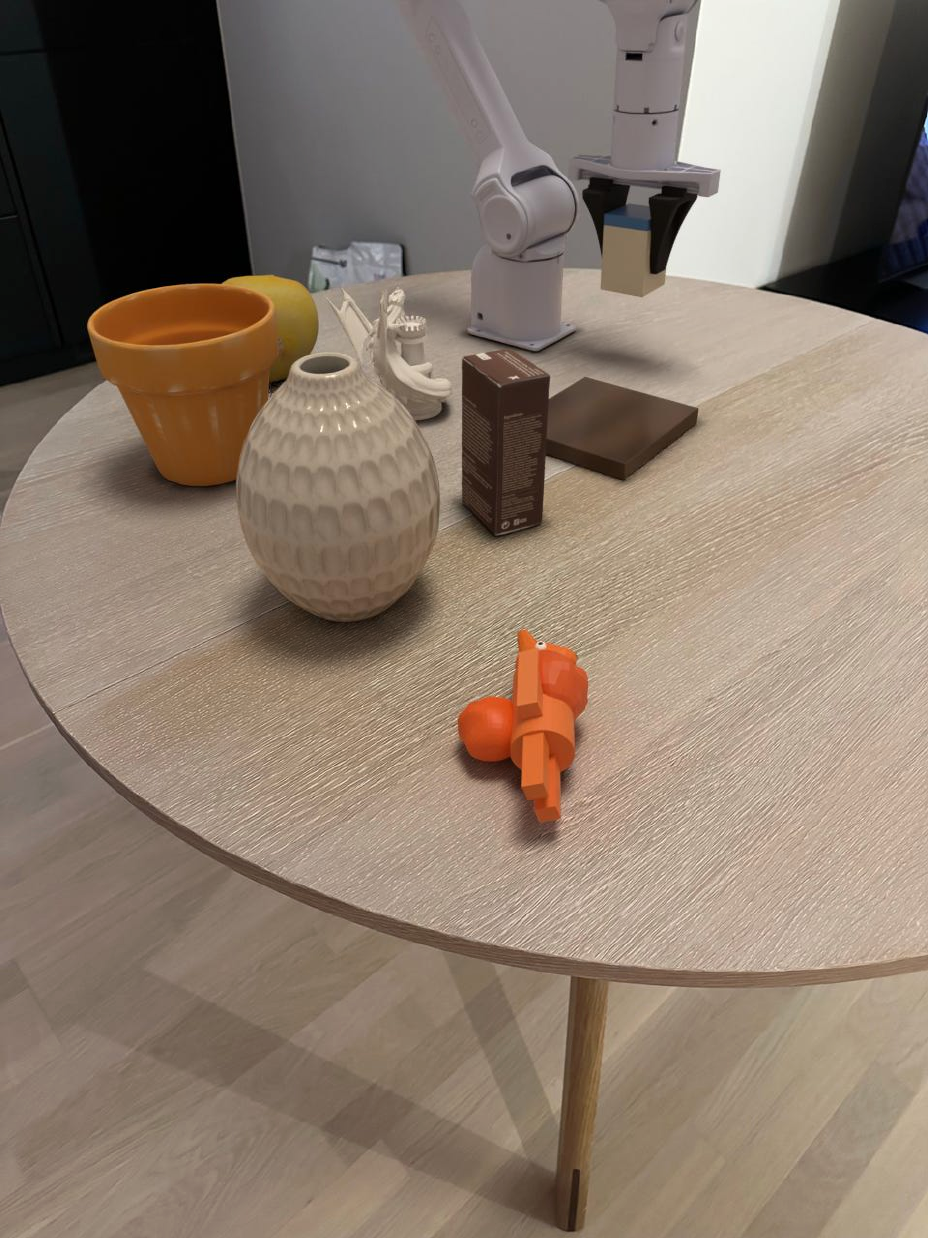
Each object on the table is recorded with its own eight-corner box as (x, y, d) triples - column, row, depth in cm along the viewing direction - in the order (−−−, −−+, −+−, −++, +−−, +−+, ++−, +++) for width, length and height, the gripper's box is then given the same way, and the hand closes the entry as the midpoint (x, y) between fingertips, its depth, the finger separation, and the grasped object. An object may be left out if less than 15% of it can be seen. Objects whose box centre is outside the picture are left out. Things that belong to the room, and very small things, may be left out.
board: (505, 440, 82) (505, 425, 81) (584, 390, 90) (584, 376, 89) (623, 480, 76) (625, 464, 75) (696, 423, 84) (699, 407, 83)
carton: (600, 289, 91) (604, 213, 87) (623, 276, 94) (628, 202, 89) (642, 297, 88) (648, 219, 84) (664, 284, 91) (672, 208, 87)
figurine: (458, 395, 90) (455, 268, 82) (445, 431, 84) (440, 298, 76) (350, 390, 91) (337, 265, 84) (329, 425, 85) (313, 293, 78)
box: (546, 523, 71) (553, 373, 64) (494, 538, 69) (494, 386, 62) (509, 488, 75) (511, 344, 68) (459, 501, 74) (456, 355, 66)
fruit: (341, 377, 94) (331, 276, 87) (242, 404, 89) (224, 299, 83) (296, 346, 100) (284, 250, 94) (202, 370, 96) (182, 271, 90)
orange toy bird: (580, 758, 44) (574, 605, 53) (432, 787, 46) (452, 634, 55) (607, 826, 46) (597, 669, 56) (467, 850, 48) (480, 695, 58)
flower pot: (207, 413, 87) (178, 272, 80) (328, 446, 82) (310, 298, 74) (91, 478, 78) (45, 325, 70) (219, 520, 72) (185, 359, 64)
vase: (369, 679, 57) (343, 431, 47) (217, 614, 63) (163, 379, 52) (478, 576, 66) (476, 347, 55) (335, 527, 71) (309, 310, 61)
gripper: (743, 107, 81) (722, 267, 89) (598, 96, 88) (591, 246, 96) (706, 120, 76) (688, 287, 84) (557, 108, 83) (554, 263, 92)
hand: (634, 267), depth 90 cm, fingers closed on carton, 4 cm apart
